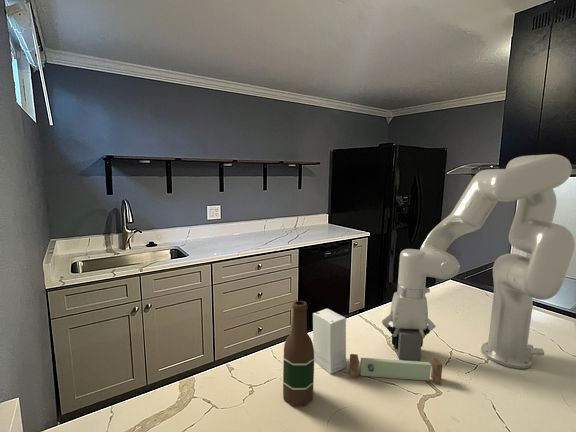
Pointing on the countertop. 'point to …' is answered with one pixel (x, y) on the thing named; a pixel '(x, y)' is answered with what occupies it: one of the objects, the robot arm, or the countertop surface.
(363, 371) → the door
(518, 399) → the countertop surface
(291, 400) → the beer bottle
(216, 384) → the countertop surface
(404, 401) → the countertop surface
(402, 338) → the block
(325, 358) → the skincare box
